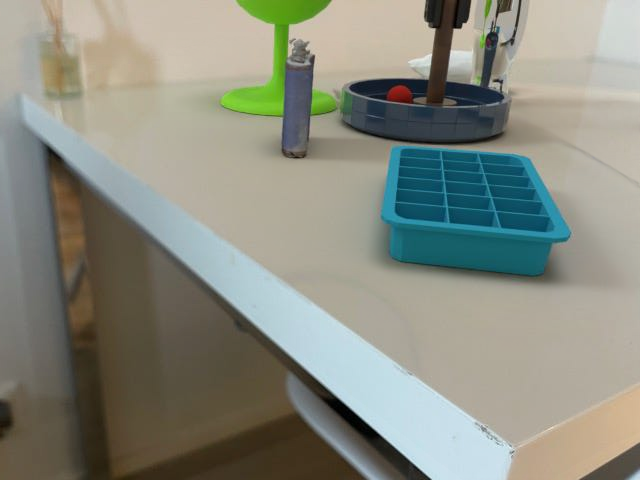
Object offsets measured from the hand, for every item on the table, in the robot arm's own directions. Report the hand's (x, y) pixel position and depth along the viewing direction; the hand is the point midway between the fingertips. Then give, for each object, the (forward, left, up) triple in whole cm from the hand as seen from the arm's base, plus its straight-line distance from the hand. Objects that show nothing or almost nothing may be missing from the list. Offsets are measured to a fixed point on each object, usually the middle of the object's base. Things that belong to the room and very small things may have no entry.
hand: (445, 27), depth 74 cm
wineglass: (+18, -13, -11) cm, 25 cm away
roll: (-9, -30, -12) cm, 34 cm away
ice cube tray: (+5, +31, -12) cm, 34 cm away
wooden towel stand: (0, 0, -9) cm, 9 cm away
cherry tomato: (+3, -7, -9) cm, 12 cm away
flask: (+17, +10, -12) cm, 23 cm away
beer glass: (-12, -18, -12) cm, 25 cm away
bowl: (+1, -2, -11) cm, 12 cm away
